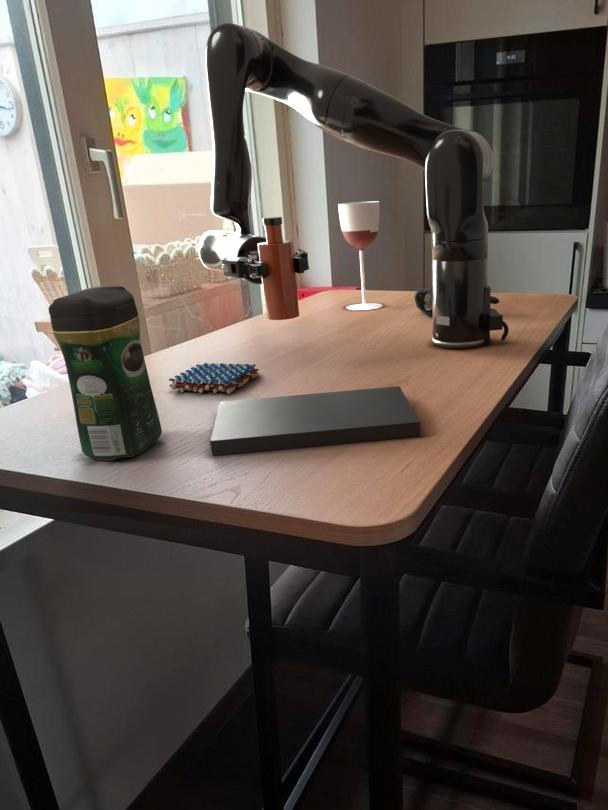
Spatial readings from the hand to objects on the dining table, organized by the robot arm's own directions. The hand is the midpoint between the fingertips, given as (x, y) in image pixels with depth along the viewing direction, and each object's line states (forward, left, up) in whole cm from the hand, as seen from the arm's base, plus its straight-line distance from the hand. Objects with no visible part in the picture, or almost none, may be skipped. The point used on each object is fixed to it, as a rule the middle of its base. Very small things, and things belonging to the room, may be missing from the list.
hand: (283, 268), depth 104 cm
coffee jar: (+21, +28, -16) cm, 38 cm away
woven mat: (+12, +3, -16) cm, 20 cm away
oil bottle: (+1, -2, -7) cm, 8 cm away
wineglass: (-17, -52, -16) cm, 57 cm away
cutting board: (-2, +26, -16) cm, 30 cm away
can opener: (-34, -34, -16) cm, 51 cm away
